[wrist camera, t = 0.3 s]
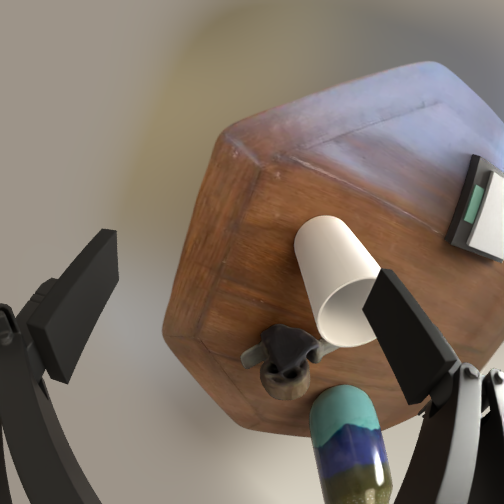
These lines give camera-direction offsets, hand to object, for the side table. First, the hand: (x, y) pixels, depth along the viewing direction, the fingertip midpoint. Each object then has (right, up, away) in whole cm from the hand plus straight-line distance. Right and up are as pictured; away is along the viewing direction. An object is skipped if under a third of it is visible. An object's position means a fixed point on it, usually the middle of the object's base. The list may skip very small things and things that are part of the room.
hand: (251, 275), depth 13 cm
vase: (+18, -30, +41) cm, 54 cm away
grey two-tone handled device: (+8, -12, +33) cm, 36 cm away
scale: (+41, +8, +23) cm, 47 cm away
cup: (+10, +2, +26) cm, 28 cm away
